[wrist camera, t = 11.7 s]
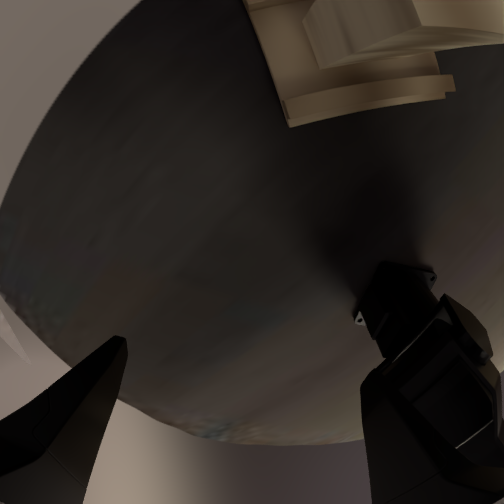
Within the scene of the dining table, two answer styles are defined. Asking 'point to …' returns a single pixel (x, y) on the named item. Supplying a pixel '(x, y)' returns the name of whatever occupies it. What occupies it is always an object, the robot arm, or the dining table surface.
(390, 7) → the wooden block
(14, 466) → the robot arm
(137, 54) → the dining table surface
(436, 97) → the wooden tray
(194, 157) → the dining table surface
